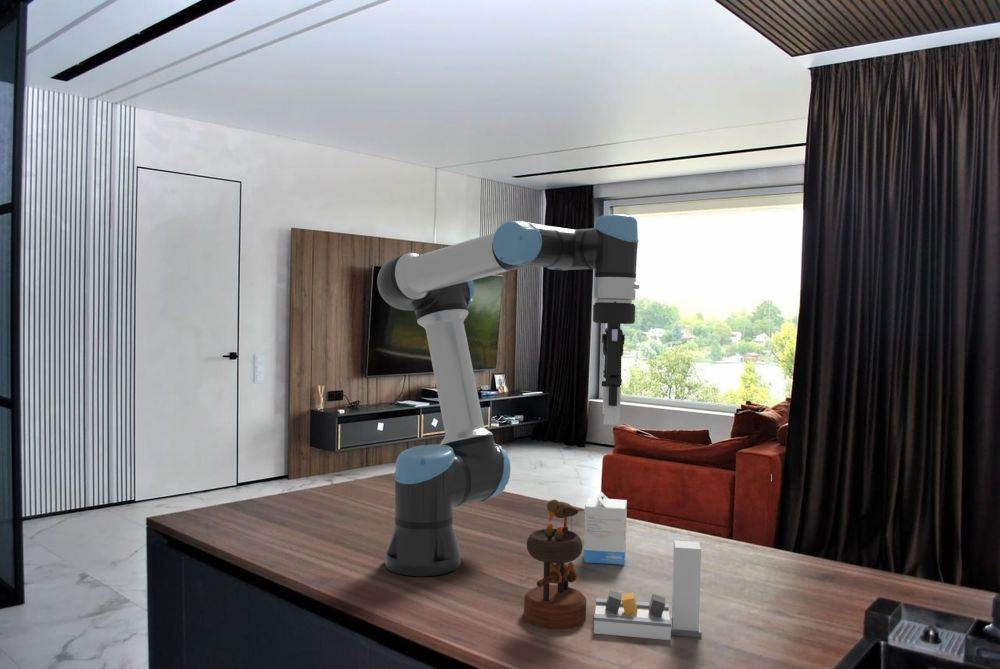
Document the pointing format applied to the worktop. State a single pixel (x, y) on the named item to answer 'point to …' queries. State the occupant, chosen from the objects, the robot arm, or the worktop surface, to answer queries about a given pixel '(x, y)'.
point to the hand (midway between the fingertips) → (610, 419)
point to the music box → (556, 574)
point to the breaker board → (632, 622)
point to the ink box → (605, 530)
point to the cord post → (686, 589)
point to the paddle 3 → (656, 605)
